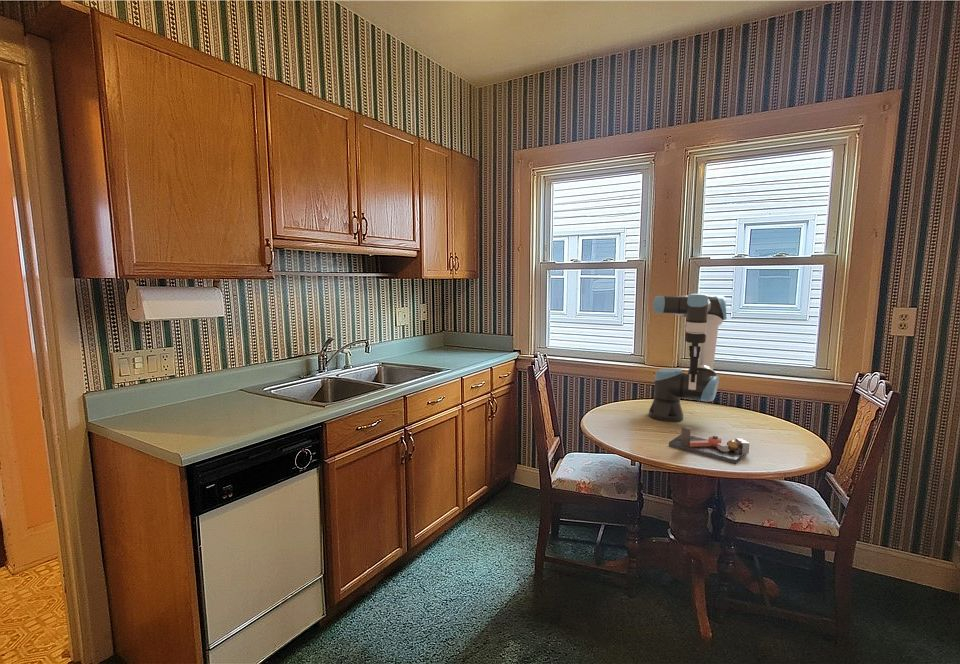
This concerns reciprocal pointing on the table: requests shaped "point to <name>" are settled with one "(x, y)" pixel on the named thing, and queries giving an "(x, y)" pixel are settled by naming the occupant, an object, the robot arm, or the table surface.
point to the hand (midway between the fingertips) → (692, 389)
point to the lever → (712, 441)
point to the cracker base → (716, 449)
